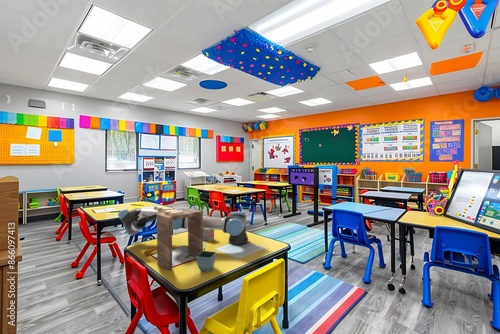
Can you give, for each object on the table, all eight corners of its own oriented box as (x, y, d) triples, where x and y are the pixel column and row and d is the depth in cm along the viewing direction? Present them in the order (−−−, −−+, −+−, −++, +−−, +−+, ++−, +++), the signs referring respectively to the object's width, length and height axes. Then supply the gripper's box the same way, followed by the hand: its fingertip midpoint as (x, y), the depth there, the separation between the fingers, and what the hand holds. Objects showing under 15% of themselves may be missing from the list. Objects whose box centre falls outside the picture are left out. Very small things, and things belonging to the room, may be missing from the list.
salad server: (150, 210, 151) (150, 207, 151) (160, 209, 156) (160, 205, 156) (173, 216, 134) (173, 212, 134) (183, 214, 140) (183, 210, 140)
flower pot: (211, 273, 129) (210, 257, 129) (195, 272, 131) (195, 256, 131) (216, 267, 138) (216, 251, 137) (202, 265, 139) (202, 250, 139)
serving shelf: (190, 252, 160) (189, 207, 160) (203, 257, 151) (203, 210, 151) (156, 264, 142) (156, 214, 141) (169, 270, 133) (169, 217, 132)
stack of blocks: (214, 239, 187) (214, 224, 187) (208, 241, 182) (207, 225, 182) (198, 234, 201) (198, 219, 201) (192, 235, 197) (191, 221, 197)
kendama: (141, 249, 156) (163, 238, 174) (143, 258, 156) (165, 245, 174) (148, 249, 153) (169, 237, 172) (150, 257, 154) (171, 245, 172)
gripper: (156, 225, 177) (170, 214, 165) (121, 233, 158) (134, 221, 146) (154, 216, 179) (167, 205, 167) (119, 222, 160) (131, 210, 148)
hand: (151, 212), depth 156 cm, fingers open, 13 cm apart
